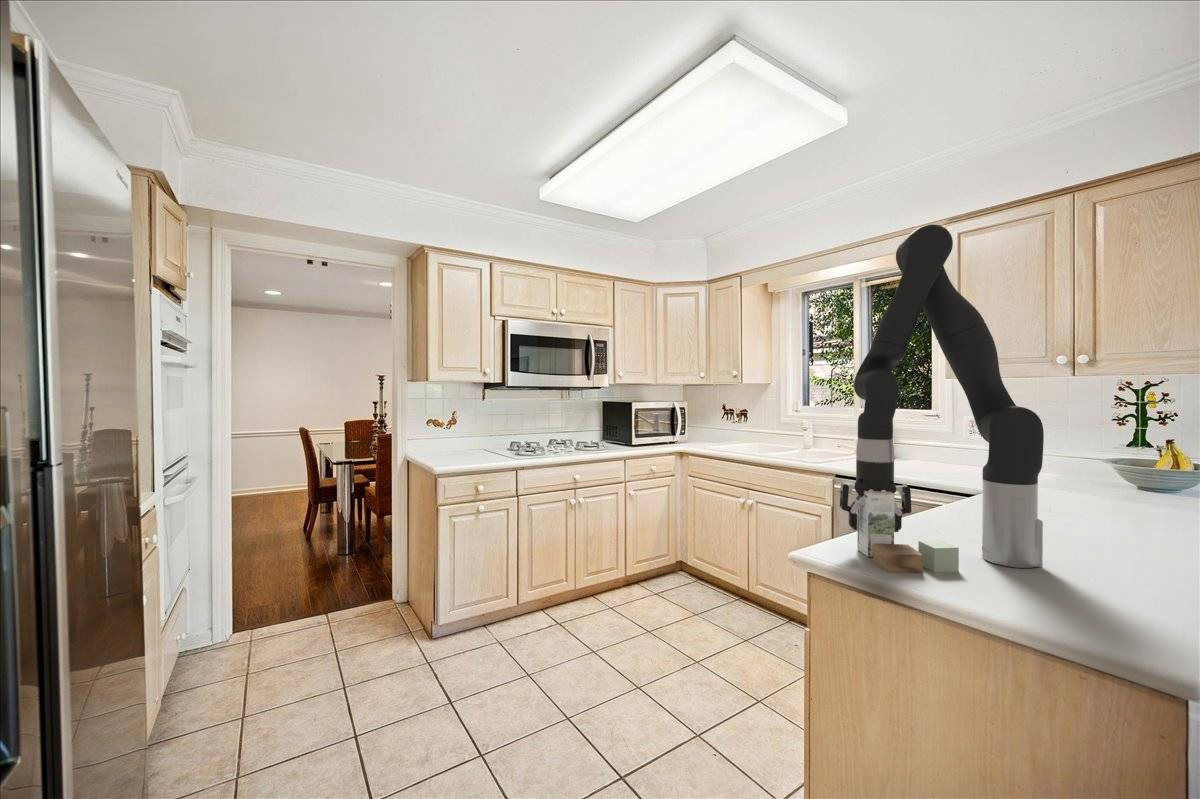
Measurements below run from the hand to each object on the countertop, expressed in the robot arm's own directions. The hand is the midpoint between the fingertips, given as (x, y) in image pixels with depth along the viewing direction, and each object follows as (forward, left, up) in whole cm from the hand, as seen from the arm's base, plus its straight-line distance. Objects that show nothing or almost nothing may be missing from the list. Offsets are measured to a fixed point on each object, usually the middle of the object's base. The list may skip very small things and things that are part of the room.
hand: (874, 530), depth 116 cm
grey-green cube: (-10, +7, -5) cm, 14 cm away
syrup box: (0, 0, -6) cm, 6 cm away
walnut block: (-2, +8, -6) cm, 10 cm away
